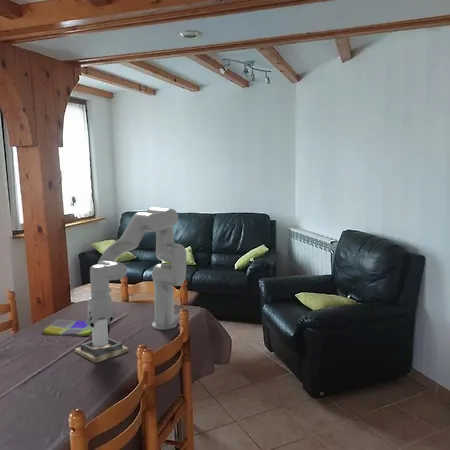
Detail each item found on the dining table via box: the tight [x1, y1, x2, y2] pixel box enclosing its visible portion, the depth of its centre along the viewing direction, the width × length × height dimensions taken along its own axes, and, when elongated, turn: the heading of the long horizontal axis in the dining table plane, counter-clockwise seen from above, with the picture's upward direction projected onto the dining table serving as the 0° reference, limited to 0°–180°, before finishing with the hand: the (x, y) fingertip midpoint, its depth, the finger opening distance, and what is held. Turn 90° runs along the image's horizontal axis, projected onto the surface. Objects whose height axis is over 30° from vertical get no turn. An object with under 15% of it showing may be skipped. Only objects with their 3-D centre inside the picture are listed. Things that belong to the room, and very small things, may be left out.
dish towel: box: [42, 318, 92, 337], centre depth 220 cm, size 18×24×3 cm
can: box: [91, 318, 109, 347], centre depth 192 cm, size 6×6×12 cm
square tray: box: [74, 337, 129, 364], centre depth 193 cm, size 16×16×4 cm
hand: (101, 334), depth 193 cm, fingers closed on can, 4 cm apart
